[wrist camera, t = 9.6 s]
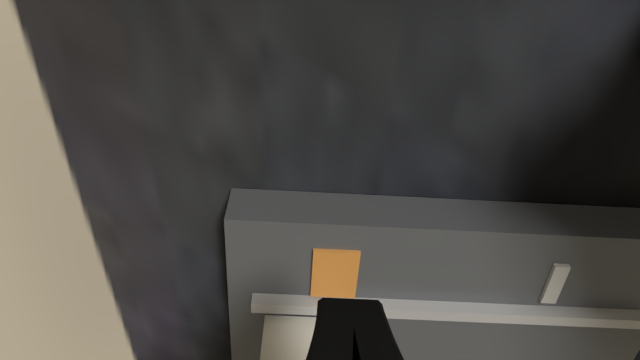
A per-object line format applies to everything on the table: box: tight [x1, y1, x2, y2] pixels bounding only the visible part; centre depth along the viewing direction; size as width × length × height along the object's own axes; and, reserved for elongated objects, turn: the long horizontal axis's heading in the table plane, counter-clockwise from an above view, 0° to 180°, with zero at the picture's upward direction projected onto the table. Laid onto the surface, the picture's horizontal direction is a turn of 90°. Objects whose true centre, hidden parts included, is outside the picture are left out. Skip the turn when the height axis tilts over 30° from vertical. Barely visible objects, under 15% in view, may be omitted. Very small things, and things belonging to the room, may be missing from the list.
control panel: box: [224, 188, 640, 360], centre depth 25 cm, size 18×14×3 cm
